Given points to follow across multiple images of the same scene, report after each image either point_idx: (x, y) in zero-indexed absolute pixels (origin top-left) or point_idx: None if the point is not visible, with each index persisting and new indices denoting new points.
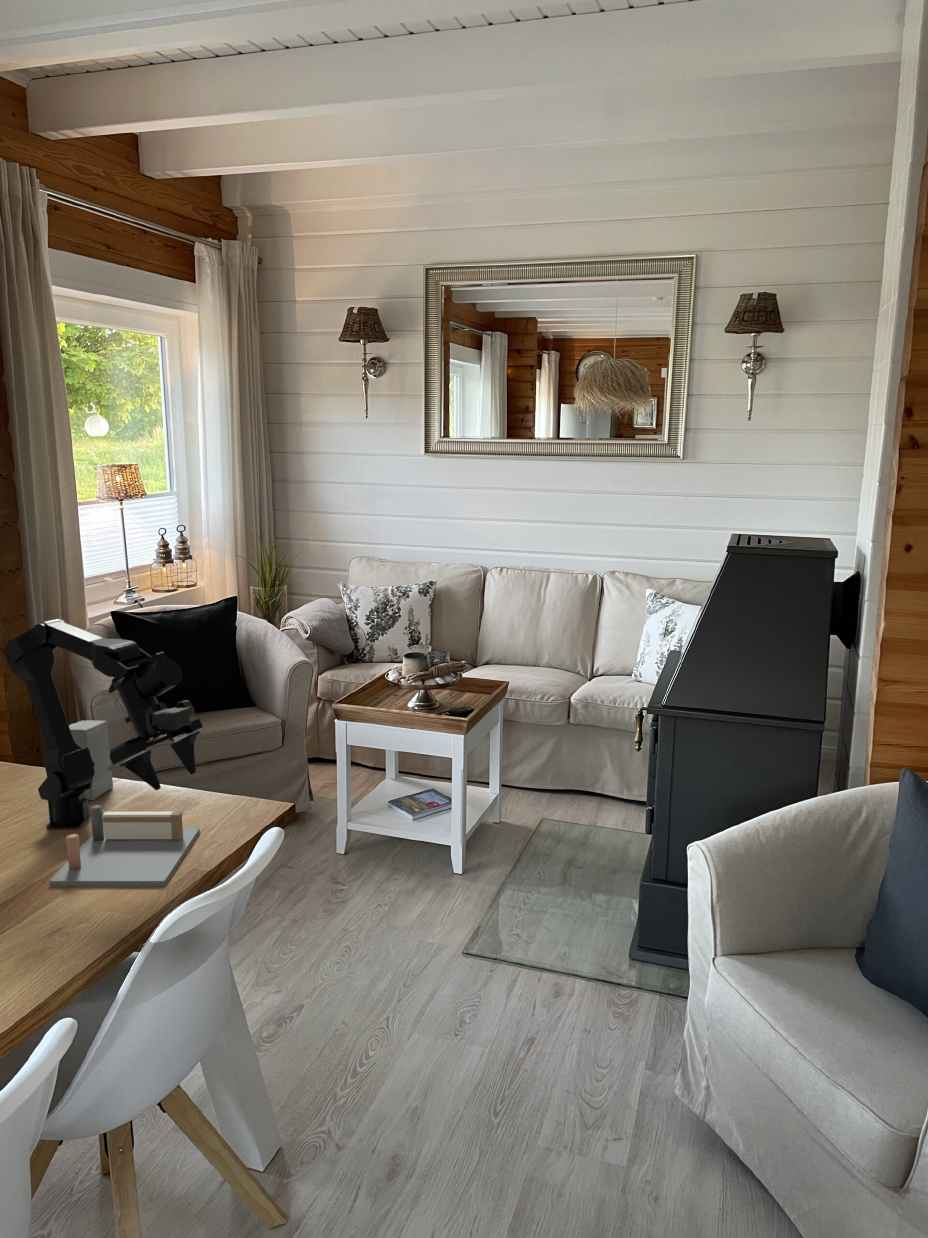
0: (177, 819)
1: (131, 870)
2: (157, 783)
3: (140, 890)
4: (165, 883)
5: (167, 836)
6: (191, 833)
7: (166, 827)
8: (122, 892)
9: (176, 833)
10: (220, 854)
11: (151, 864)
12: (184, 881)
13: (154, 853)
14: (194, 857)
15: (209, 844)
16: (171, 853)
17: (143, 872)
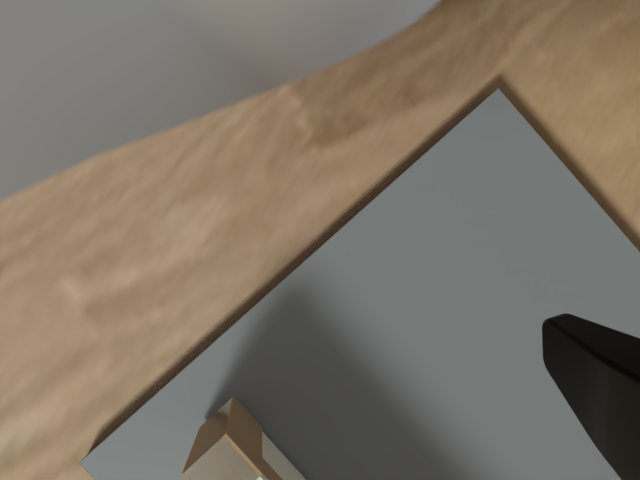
0: (235, 432)
1: (542, 281)
2: (608, 335)
3: (566, 141)
4: (484, 99)
5: (275, 451)
6: (146, 434)
7: (279, 469)
8: (620, 179)
9: (245, 418)
10: (162, 171)
11: (457, 268)
12: (412, 72)
13: (391, 361)
14: (260, 235)
15: (132, 303)
16: (339, 301)
17: (519, 223)
